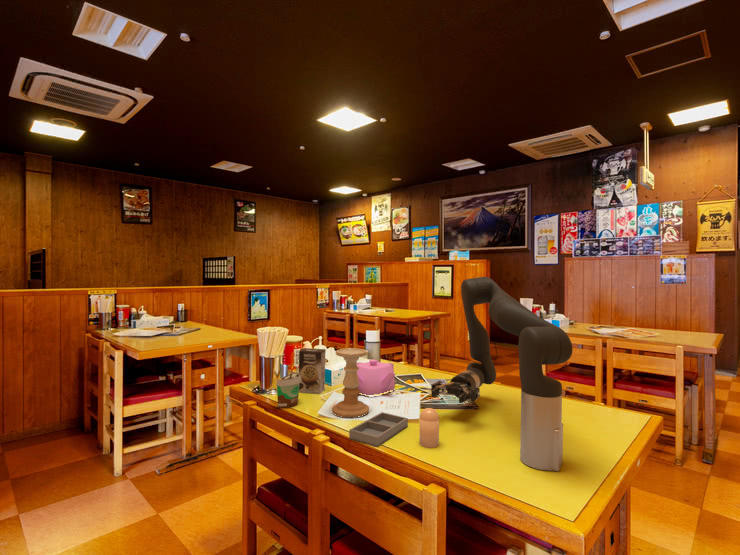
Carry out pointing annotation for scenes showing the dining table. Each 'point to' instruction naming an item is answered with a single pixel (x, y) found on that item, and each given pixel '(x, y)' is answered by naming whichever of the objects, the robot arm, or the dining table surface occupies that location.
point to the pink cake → (375, 377)
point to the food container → (288, 390)
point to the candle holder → (350, 385)
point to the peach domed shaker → (429, 428)
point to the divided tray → (378, 429)
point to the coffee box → (312, 370)
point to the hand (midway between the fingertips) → (446, 396)
